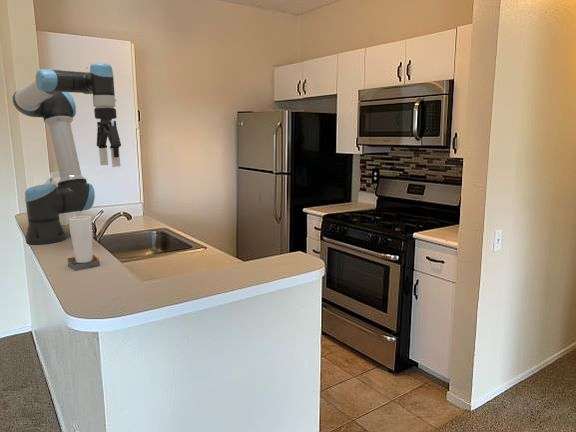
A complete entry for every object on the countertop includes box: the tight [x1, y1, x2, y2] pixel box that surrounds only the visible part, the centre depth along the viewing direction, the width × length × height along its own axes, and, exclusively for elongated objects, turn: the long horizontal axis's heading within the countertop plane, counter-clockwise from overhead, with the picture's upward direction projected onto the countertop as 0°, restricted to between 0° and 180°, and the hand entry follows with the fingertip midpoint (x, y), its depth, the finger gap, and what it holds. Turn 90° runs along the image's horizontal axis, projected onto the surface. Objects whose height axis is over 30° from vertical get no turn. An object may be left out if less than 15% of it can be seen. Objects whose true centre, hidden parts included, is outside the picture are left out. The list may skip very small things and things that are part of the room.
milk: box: [44, 171, 78, 226], centre depth 230 cm, size 12×12×26 cm
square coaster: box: [66, 254, 101, 271], centre depth 154 cm, size 8×8×2 cm
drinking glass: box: [68, 215, 94, 263], centre depth 153 cm, size 7×7×15 cm
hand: (110, 165), depth 173 cm, fingers open, 13 cm apart
